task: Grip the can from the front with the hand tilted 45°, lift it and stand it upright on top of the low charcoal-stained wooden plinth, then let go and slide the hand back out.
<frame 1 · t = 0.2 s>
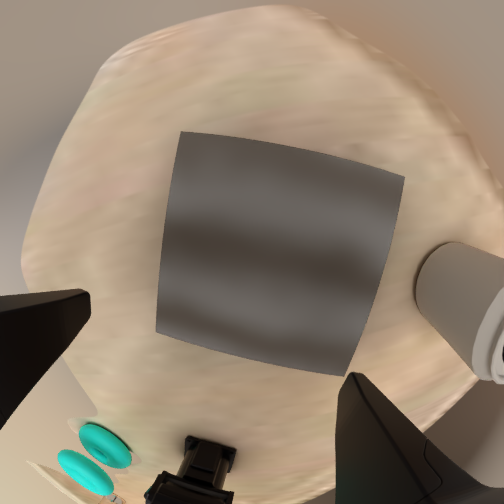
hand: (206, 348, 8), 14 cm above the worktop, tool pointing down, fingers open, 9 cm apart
plinth: (272, 254, 22), on the worktop
can: (444, 280, 20), on the worktop
white piece: (115, 496, 40), on the worktop
turquoise double disc piece: (109, 441, 32), on the worktop
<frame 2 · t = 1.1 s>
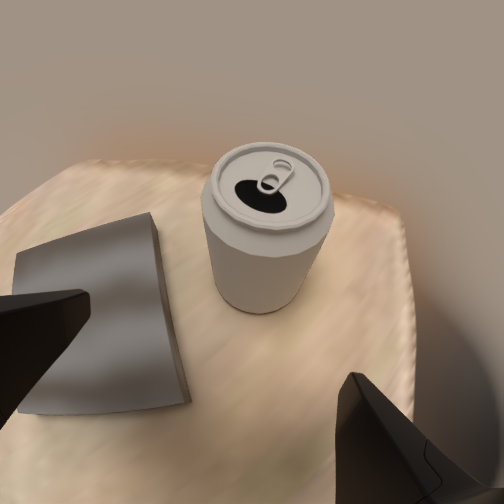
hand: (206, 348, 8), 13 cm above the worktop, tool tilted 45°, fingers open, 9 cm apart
plinth: (88, 325, 21), on the worktop
can: (257, 276, 24), on the worktop
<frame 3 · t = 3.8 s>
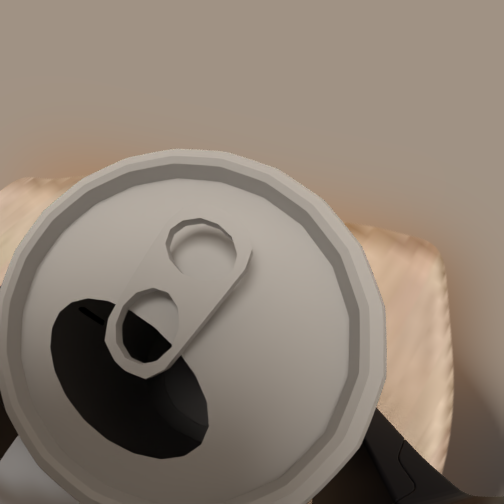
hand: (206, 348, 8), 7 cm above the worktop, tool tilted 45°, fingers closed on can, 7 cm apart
plinth: (9, 412, 10), on the worktop
can: (218, 375, 14), on the worktop, touching gripper
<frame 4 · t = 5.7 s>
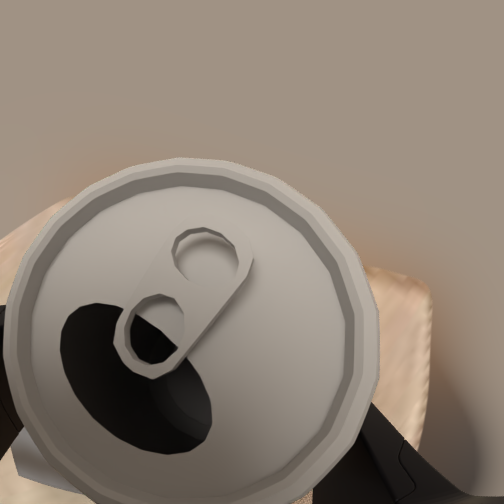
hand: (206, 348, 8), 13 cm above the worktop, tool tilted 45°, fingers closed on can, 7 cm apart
plinth: (80, 403, 17), on the worktop
can: (218, 375, 14), point 6 cm above the worktop, touching gripper
when the fingers open (10 cm above the worktop, at t = 8.1 s): can stays where it is, resting on plinth.
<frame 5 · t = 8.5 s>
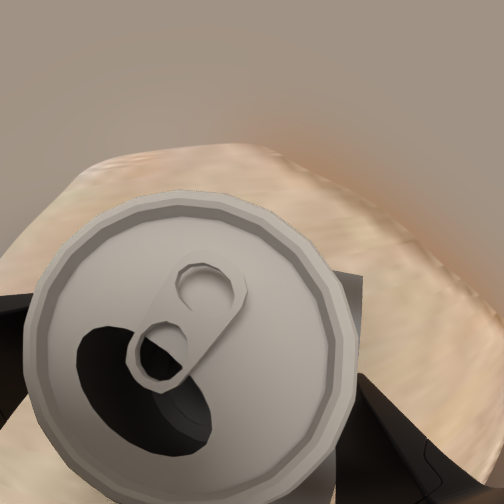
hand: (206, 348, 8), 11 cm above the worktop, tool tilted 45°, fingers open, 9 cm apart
plinth: (222, 378, 17), on the worktop
can: (218, 379, 14), point 3 cm above the worktop, touching plinth
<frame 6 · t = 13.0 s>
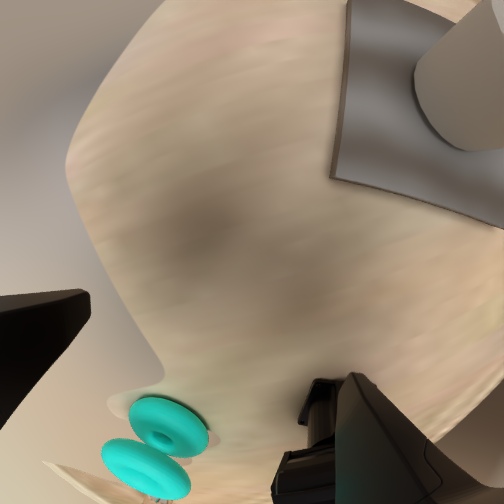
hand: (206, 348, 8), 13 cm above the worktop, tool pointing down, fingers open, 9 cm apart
plinth: (436, 106, 15), on the worktop
can: (452, 101, 13), point 3 cm above the worktop, touching plinth
white piece: (159, 495, 37), on the worktop
turquoise double disc piece: (172, 420, 27), on the worktop
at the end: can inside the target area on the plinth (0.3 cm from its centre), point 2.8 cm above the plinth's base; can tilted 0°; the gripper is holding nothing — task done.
